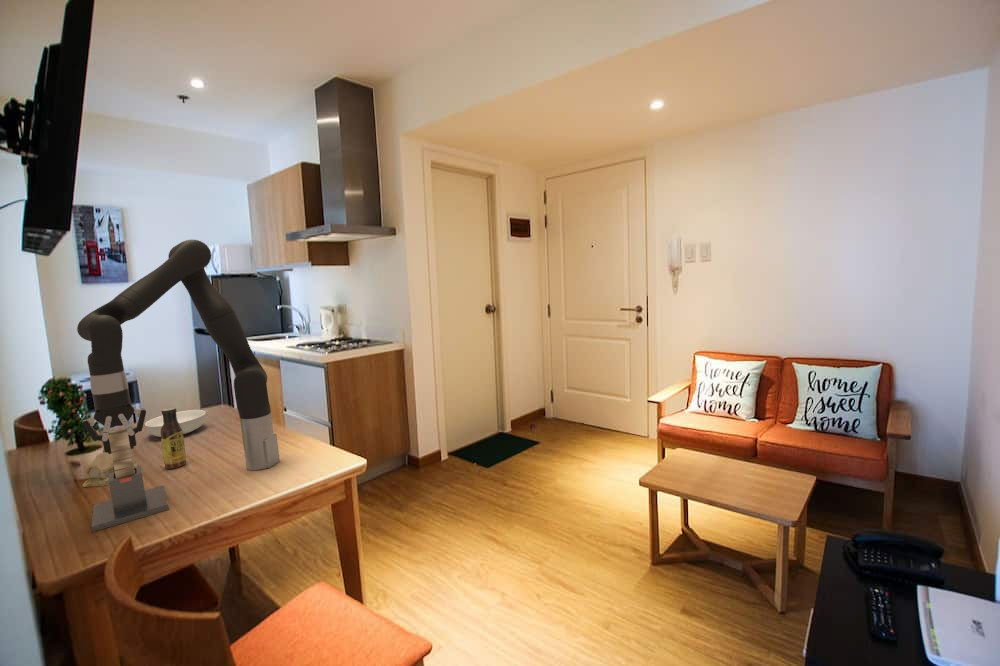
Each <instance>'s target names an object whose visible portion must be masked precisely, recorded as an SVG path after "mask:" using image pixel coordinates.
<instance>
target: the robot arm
mask: <svg viewBox="0 0 1000 666" xmlns="http://www.w3.org/2000/svg"><path fill="white" fill-rule="evenodd" d="M211 259H212V251H211V249H210V248H209V246H208V245H207V244H206V243H205V242H203V241H201V240H198V239H187V240H183V241H182V242H180V243H178V244H176V245H174V246H173V247H172V248H170V250H169V252H168V257H167V260H165V261H164V262H163V263H162V264H160V266H158V267H157V268H155V269H154V270H152V271H151V272H149V273H148V274H146V275H145V276H143V277H142V278H140V279H138V280H136V281H135V282H134V283H133V284H131V285H130V286H128V287H127V288H125V289H124V290H123V291H122V292H119V294H118V295H116V296H114V298H112V300H110V301H109V302H107V303H105V304H103V305H101V306H99V307H98V308H95V310H92V311H91V312H90V313H87V314H85V316H83V318H81V320H80V321H79V322H78V324H77V326H76V331H77V334H78V335H79V337H80V338H81V339H83V340H85V341H88V342H91V343H90V344H91V345H90V346H91V352H90V353H89V354H88V356H87V365H88V370H89V372H88V373H89V377H90V379H89V380H90V381H89V382H90V383H89V384H90V392H91V394H92V399H93V405H94V411H95V412H94V414H93V416H91V417H90V418H86V419H83V420H82V423H81V425H82V427H83V428H84V430H85V431H86V432H87V433H88V435H89V436H90V438H91V439H92V441H94V442H96V441H98V442H99V441H100V442H101V443H102V444H103V450H104V451H105V452H106V453H107V452H108V454H112V453H111V447H110V442H109V436H108V435H109V432H110V429H112V428H115V427H124V429H126V430H127V431H128V437H129V442H130V447H131V450H132V449H133V450H134V448H135V447H136V446H137V440H136V434H137V433H139V432H142V431H143V427H144V425H145V423H144V422H145V419H146V415H147V411H146V410H147V409H146V408H134V406H132V402H131V401H132V400H131V397H130V396H131V395H130V389H129V383H128V379H127V376H126V372H125V368H124V362H123V357H122V352H123V351H122V350H123V339H124V338H123V337H124V336H123V335H124V334H123V333H124V332H123V328H122V326H121V325H123V324H124V323H125V322H126V323H127V322H128V321H131V320H134V319H136V318H138V317H139V316H141V314H143V313H144V312H145V311H146V310H148V309H149V308H150V307H151V306H152V305H154V303H156V302H157V301H158V300H160V298H162V297H163V296H164V295H165V294H166V293H167V292H168V291H170V290H171V289H172V288H173V287H174V286H176V285H177V284H178V283H180V282H181V283H182V285H183V286H184V288H185V289H186V291H187V293H188V295H189V297H190V298H191V301H192V302H193V305H194V307H195V309H196V311H197V312H198V314H199V317H200V319H201V321H202V323H203V325H204V327H205V328H206V330H207V332H208V334H209V336H210V337H211V339H212V340H213V342H214V343H215V344H216V346H218V348H219V349H220V350H221V351H222V352H223V354H224V355H225V356H226V358H227V359H228V362H229V363H230V367H232V370H233V374H234V376H235V377H234V380H233V389H234V396H235V397H234V398H235V403H236V410H237V412H238V416H239V423H240V429H241V430H240V431H241V436H242V437H241V438H242V445H243V454H244V460H245V468H246V470H249V471H260V470H265V469H270V468H272V467H273V466H275V465H276V464H277V463H279V462H280V461H281V460H280V459H281V458H280V451H279V443H278V435H277V433H274V426H273V417H272V409H271V404H270V401H269V400H270V399H269V394H268V393H269V391H268V375H267V372H266V371H265V368H263V366H262V365H261V363H260V362H259V360H258V358H257V357H256V355H255V354H254V352H253V349H252V348H251V347H250V344H249V341H248V338H247V336H246V334H245V333H246V332H245V331H244V328H243V327H242V324H241V322H240V320H239V318H238V316H237V314H236V311H235V310H234V308H233V306H232V305H231V304H230V302H229V301H228V300H227V299H226V298H225V297H224V296H223V295H222V294H221V293H220V292H219V291H218V290H217V289H216V288H215V286H214V285H213V284H212V282H211V280H210V278H209V276H208V274H207V272H206V269H205V268H207V266H208V265H209V264H210V263H211ZM134 414H135V416H136V417H137V418H138V420H137V424H136V427H134V428H133V426H132V425H131V423H130V419H131V418H132V416H133V415H134ZM95 422H97V423H99V424H101V425H102V426H103V431H102V434H98V432H97V430H95V428H94V426H95Z"/></svg>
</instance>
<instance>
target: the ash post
mask: <svg viewBox="0 0 1000 666" xmlns="http://www.w3.org/2000/svg"><path fill="white" fill-rule="evenodd" d="M128 435H129V434H128V431H127V430H126V429H125V428H123V429H118V430H113V431H109V435H108V439H109V442H110V447H111V453H112V459H113V464H114V472H115V476H116V478H120V477H124V476H128V475H132V474H135V470H134V464H133V462H134V460H133V452H132V449H131V447H130V442H129V437H128Z"/></svg>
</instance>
